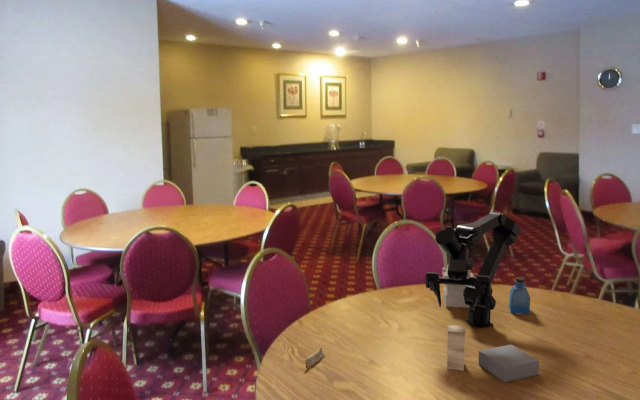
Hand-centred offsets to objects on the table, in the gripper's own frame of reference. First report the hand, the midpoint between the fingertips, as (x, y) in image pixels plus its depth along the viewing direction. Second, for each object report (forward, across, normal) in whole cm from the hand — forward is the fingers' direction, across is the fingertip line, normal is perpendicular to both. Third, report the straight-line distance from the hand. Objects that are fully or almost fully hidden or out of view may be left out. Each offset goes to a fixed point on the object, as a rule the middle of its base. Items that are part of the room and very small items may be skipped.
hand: (456, 307), depth 152 cm
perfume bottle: (-19, +21, +38) cm, 48 cm away
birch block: (+16, 0, +4) cm, 16 cm away
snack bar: (+21, -39, -1) cm, 44 cm away
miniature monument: (-22, 0, +41) cm, 46 cm away
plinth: (+15, +14, +5) cm, 21 cm away
